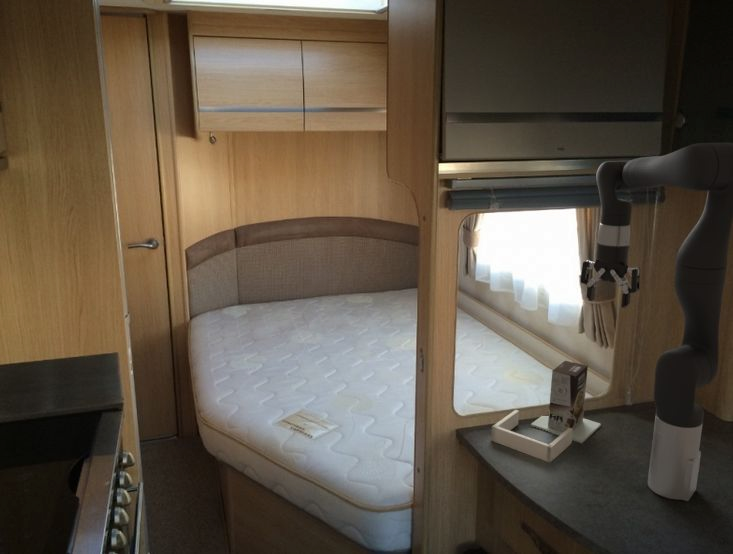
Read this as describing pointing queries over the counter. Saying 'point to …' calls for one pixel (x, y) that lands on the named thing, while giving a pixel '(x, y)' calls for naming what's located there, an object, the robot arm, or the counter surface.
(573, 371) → the coffee box
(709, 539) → the counter surface
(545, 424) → the mat
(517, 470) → the counter surface
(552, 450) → the u-shaped box cradle
